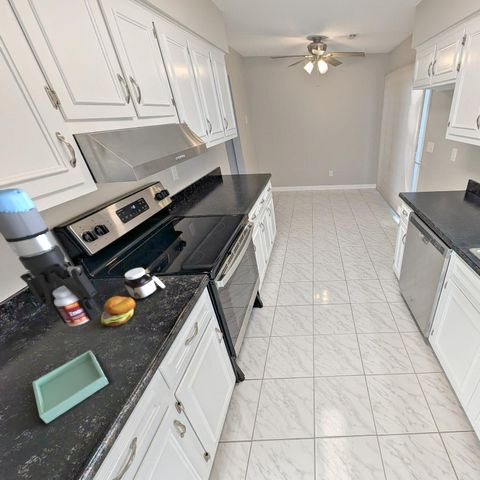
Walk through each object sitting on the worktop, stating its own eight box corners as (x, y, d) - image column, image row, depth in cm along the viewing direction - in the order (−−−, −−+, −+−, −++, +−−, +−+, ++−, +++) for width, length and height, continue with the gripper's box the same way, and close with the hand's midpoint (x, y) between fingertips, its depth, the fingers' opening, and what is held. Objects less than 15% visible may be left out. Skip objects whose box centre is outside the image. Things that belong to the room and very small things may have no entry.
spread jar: (128, 298, 107) (116, 276, 102) (151, 282, 117) (141, 261, 111) (149, 302, 104) (138, 279, 98) (171, 286, 113) (162, 264, 108)
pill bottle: (77, 328, 71) (57, 298, 66) (63, 324, 73) (42, 294, 68) (100, 313, 77) (83, 284, 72) (86, 310, 78) (68, 281, 73)
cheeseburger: (105, 315, 98) (101, 293, 95) (138, 310, 103) (136, 289, 100) (98, 332, 90) (94, 309, 87) (135, 326, 95) (132, 304, 92)
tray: (38, 388, 72) (32, 381, 71) (94, 356, 81) (90, 349, 80) (46, 423, 63) (39, 416, 62) (108, 383, 72) (104, 376, 71)
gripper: (88, 239, 69) (123, 305, 79) (11, 247, 67) (56, 313, 77) (67, 253, 62) (108, 323, 72) (-19, 262, 60) (35, 332, 71)
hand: (81, 318), depth 75 cm, fingers closed on pill bottle, 6 cm apart
